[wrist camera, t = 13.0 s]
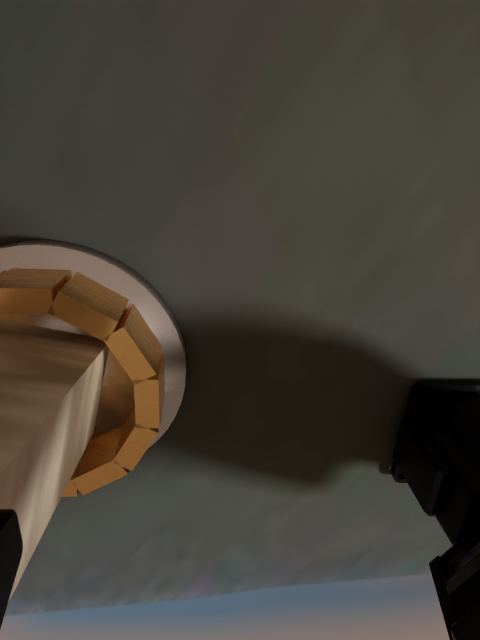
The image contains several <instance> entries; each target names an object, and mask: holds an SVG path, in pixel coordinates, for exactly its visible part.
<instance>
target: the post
mask: <svg viewBox="0 0 480 640" xmlns="http://www.w3.org/2000/svg"><path fill="white" fill-rule="evenodd" d="M108 353H109V348H108V347H107V345H106V344H105V342H104V341H102V340H100V339H98V338H96V337H91V336H86V335H81V334H75V333H70V332H65V331H59V330H54V329H49V328H44V327H38V326H33V325H28V324H22V323H17V322H12V321H7V320H6V321H3V322H1V323H0V509H13V510H15V511H16V513H17V516H18V521H19V526H20V531H21V536H22V540H23V552H22V557H21V561H20V564H19V567H18V571H17V574H16V577H15V581H14V584H13V588H12V591H11V594H10V598H11V596H12V594H13V592H14V590H15V588H16V586H17V584H18V582H19V580H20V578H21V576H22V574H23V572H24V570H25V568H26V566H27V564H28V562H29V560H30V558H31V556H32V554H33V552H34V550H35V548H36V546H37V544H38V542H39V540H40V538H41V536H42V534H43V532H44V530H45V528H46V526H47V524H48V522H49V520H50V518H51V516H52V514H53V512H54V510H55V508H56V506H57V504H58V502H59V500H60V498H61V496H62V494H63V492H64V490H65V488H66V486H67V484H68V482H69V480H70V478H71V476H72V474H73V472H74V470H75V468H76V466H77V464H78V462H79V460H80V458H81V456H82V454H83V452H84V450H85V448H86V446H87V444H88V442H89V440H90V438H91V436H92V434H93V432H94V426H95V421H96V416H97V411H98V405H99V400H100V395H101V389H102V384H103V379H104V374H105V368H106V363H107V358H108ZM10 598H9V600H10ZM8 602H9V601H8Z"/></svg>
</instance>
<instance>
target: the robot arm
mask: <svg viewBox="0 0 480 640" xmlns="http://www.w3.org/2000/svg"><path fill="white" fill-rule="evenodd" d="M424 389H425V390H424ZM421 390H424V392H422V393H420V394H419V392H420V391H421ZM393 459H394V461H393V465H392V469H391V474H392V476H393V478H394V480H395V481H396V482H398V483H408V485H409V486H410V488H411V490H412V491H413V493H414V495H415V497H416V498H417V500H418V502H419V504H420V505H421V507H422V509H423V510H424V512H425V513H426V514H427V515H428V516H435V517H436V518H437V520H438V522H439V523H440V525H441V527H442V528H443V530H444V532H445V533H446V535H447V537H448V538H449V540H450V542H451V543H452V545H453V546H452V547H451V548H449V549H448V550H447V551H446V552H445V553H444V554H443V555H441V556H437V557H436V558H434V559H433V560H432V561H431V562H430V563H429V566H430V570H431V573H432V577H433V580H434V584H435V588H436V591H437V595H438V598H439V602H440V606H441V609H442V613H443V616H444V620H445V624H446V627H447V631H448V634H449V638H450V640H480V382H433V381H421V382H417V383H415V384H414V385H413V386H412V388H411V391H410V395H409V399H408V403H407V407H406V411H405V416H404V418H403V420H402V421H401V423H400V427H399V432H398V436H397V440H396V444H395V448H394V453H393ZM400 473H402V474H400ZM22 552H23V540H22V536H21V531H20V526H19V521H18V516H17V513H16V511H15V510H13V509H0V628H1V625H2V622H3V618H4V615H5V611H6V608H7V605H8V601H9V598H10V594H11V591H12V588H13V584H14V581H15V577H16V574H17V571H18V567H19V564H20V561H21V557H22Z"/></svg>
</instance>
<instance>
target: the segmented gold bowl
mask: <svg viewBox="0 0 480 640" xmlns="http://www.w3.org/2000/svg"><path fill="white" fill-rule="evenodd" d="M6 320H7V321H12V322H17V323H22V324H28V325H33V326H38V327H44V328H49V329H54V330H59V331H65V332H70V333H75V334H81V335H86V336H91V337H96V338H98V339H100V340H102V341H104V342H105V344H106V345H107V347H108V348H109V353H108V358H107V363H106V368H105V374H104V379H103V384H102V389H101V395H100V400H99V405H98V411H97V416H96V421H95V426H94V432H93V434H92V436H91V438H90V440H89V442H88V444H87V446H86V448H85V450H84V452H83V454H82V456H81V458H80V460H79V462H78V464H77V466H76V468H75V470H74V472H73V474H72V476H71V478H70V480H69V482H68V484H67V486H66V488H65V490H64V492H63V494H62V496H61V497H77V496H78V493H79V491H80V492H81V494H82V495H85V494H87V493H89V492H91V491H93V490H96V489H98V488H100V487H102V486H104V485H106V484H108V483H111V482H113V481H115V480H117V479H119V478H121V477H123V476H126V475H128V472H129V470H131V471H133V469H134V468H135V466H136V465H137V463H138V462H139V460H140V459H141V457H142V456H143V454H144V453H145V452H146V450H147V449H148V448H150V447H151V446H152V445H153V444H154V443H155V442H156V441H157V440H158V439H160V438H161V437H162V435H163V434H164V433H165V432H166V430H167V429H168V428H169V427H170V425H171V423H172V421H173V420H174V418H175V416H176V415H177V412H178V410H179V407H180V405H181V402H182V398H183V394H184V390H185V380H186V367H187V361H186V349H185V345H184V340H183V336H182V333H181V330H180V328H179V325H178V322H177V320H176V319H175V317H174V315H173V313H172V311H171V309H170V308H169V306H168V305H167V303H166V302H165V301H164V299H163V298H162V297H161V295H160V294H159V293H158V292H157V291H156V290H155V289H154V288H153V286H152V285H151V284H150V283H149V282H148V281H147V280H145V279H144V278H143V277H142V276H140V275H139V274H138V273H137V272H136V271H134V270H133V269H131V268H130V267H128V266H127V265H125V264H124V263H122V262H121V261H119V260H117V259H115V258H113V257H111V256H109V255H107V254H105V253H103V252H100V251H97V250H94V249H91V248H88V247H86V246H82V245H77V244H73V243H68V242H61V241H51V240H32V241H23V242H16V243H10V244H7V245H3V246H0V323H1V322H3V321H6Z"/></svg>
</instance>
